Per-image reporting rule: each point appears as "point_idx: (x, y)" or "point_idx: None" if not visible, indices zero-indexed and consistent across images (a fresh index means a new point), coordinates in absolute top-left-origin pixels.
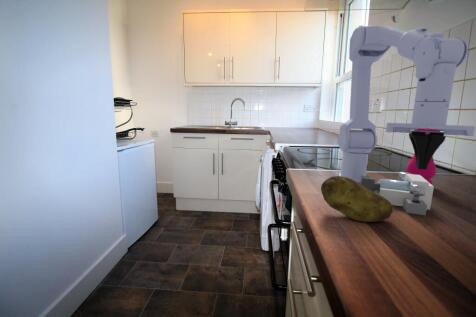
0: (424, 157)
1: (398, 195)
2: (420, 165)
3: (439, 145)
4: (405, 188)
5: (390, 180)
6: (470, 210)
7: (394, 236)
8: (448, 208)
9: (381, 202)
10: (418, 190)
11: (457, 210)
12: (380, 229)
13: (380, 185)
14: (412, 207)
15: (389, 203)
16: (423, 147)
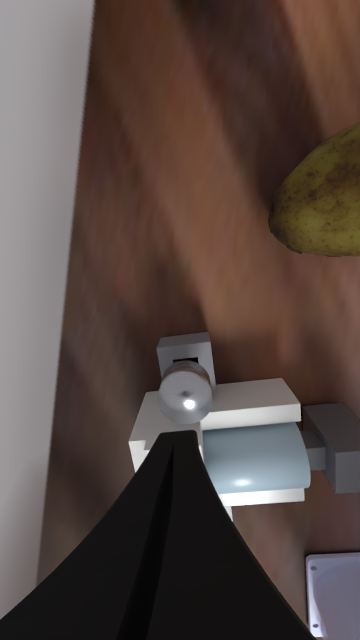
0: (168, 501)
1: (235, 400)
2: (189, 440)
3: (31, 593)
4: (216, 440)
5: (272, 472)
6: (51, 445)
7: (257, 99)
8: (99, 433)
9: (329, 161)
10: (184, 368)
11: (80, 428)
12: (293, 133)
13: (300, 440)
14: (196, 339)
15: (293, 197)
16: (188, 553)
